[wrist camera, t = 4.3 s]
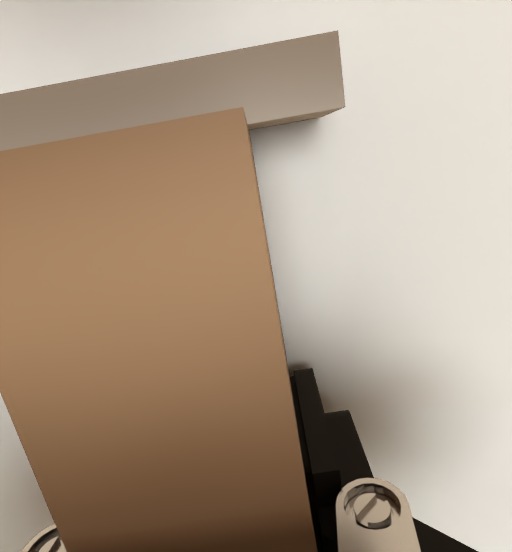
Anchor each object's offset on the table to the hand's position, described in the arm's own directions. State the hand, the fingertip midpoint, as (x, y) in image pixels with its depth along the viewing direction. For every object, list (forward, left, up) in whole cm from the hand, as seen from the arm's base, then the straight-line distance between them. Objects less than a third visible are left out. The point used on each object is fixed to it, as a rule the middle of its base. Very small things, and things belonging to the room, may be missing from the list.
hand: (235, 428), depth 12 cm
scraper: (+2, +2, -1) cm, 3 cm away
